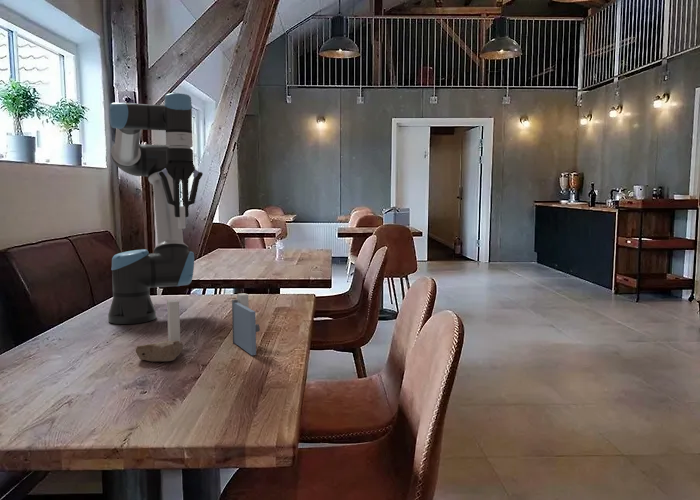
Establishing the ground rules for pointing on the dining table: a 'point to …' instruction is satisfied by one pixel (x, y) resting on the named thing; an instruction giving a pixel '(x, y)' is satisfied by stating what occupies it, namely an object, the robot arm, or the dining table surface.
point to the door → (244, 327)
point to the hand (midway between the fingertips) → (181, 228)
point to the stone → (160, 351)
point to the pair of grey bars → (175, 316)
